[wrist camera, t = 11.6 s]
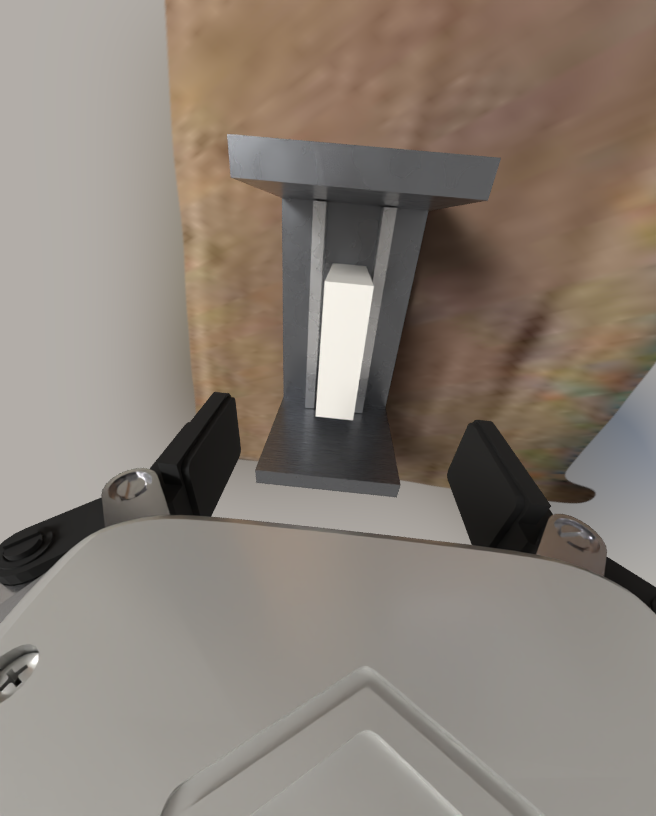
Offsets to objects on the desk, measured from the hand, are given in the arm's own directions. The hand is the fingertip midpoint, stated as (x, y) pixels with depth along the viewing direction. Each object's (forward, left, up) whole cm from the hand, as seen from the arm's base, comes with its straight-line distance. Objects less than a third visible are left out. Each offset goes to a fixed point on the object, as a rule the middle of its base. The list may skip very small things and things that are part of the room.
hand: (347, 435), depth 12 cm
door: (+1, -1, -20) cm, 20 cm away
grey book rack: (+1, -1, -21) cm, 21 cm away
